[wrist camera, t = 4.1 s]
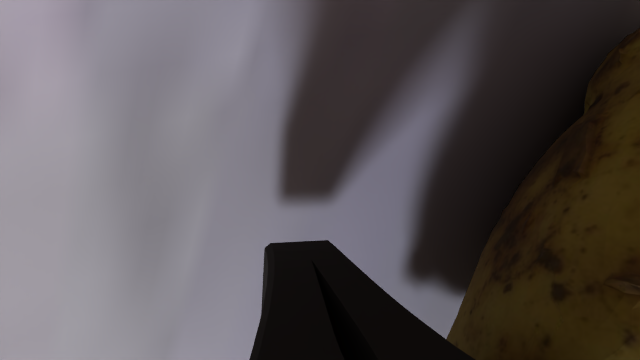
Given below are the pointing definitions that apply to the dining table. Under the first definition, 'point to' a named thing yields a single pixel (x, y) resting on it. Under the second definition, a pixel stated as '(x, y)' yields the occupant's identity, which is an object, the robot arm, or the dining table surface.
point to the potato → (568, 240)
